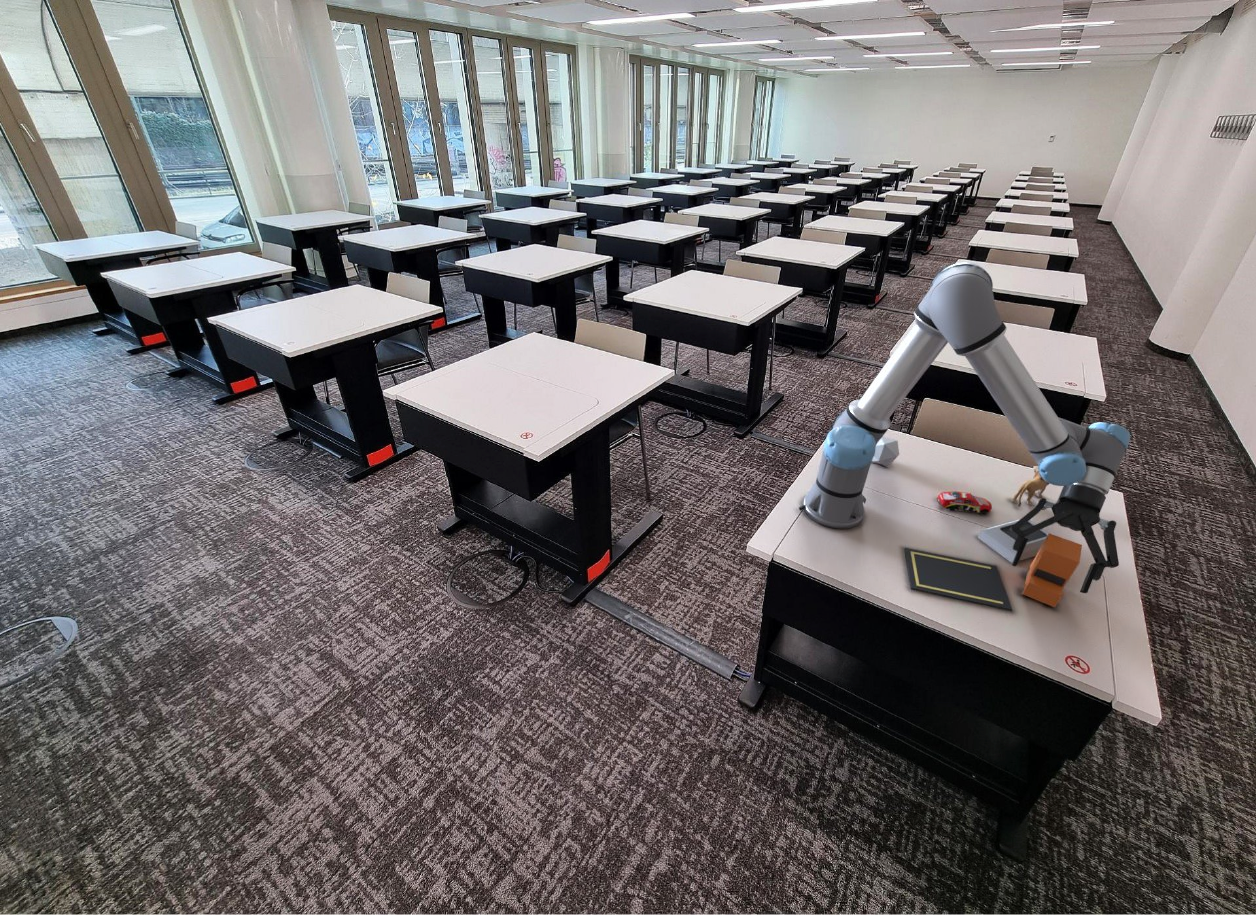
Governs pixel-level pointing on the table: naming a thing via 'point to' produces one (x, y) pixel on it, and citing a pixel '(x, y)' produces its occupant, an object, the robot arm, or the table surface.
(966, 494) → the race car
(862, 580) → the table surface
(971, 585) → the mat
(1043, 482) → the lion figurine
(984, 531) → the grey low boxy piece
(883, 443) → the die
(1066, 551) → the toy van
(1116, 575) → the table surface
